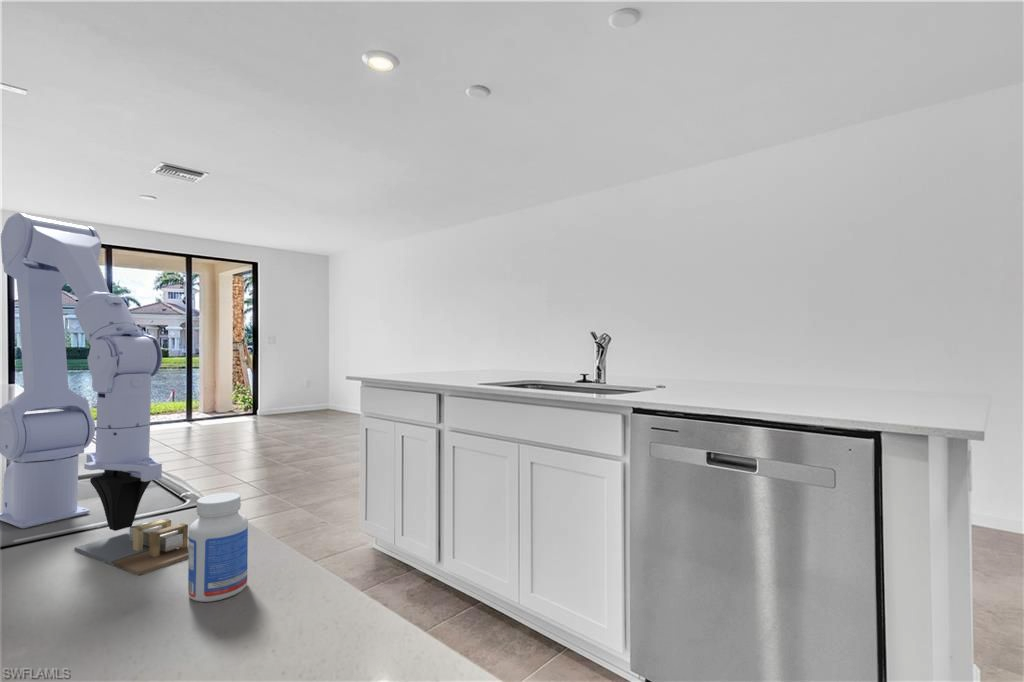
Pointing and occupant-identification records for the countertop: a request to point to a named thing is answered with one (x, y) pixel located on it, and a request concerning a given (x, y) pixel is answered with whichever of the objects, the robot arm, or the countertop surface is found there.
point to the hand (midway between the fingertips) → (120, 527)
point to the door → (120, 544)
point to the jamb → (156, 553)
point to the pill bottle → (217, 549)
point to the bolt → (161, 538)
